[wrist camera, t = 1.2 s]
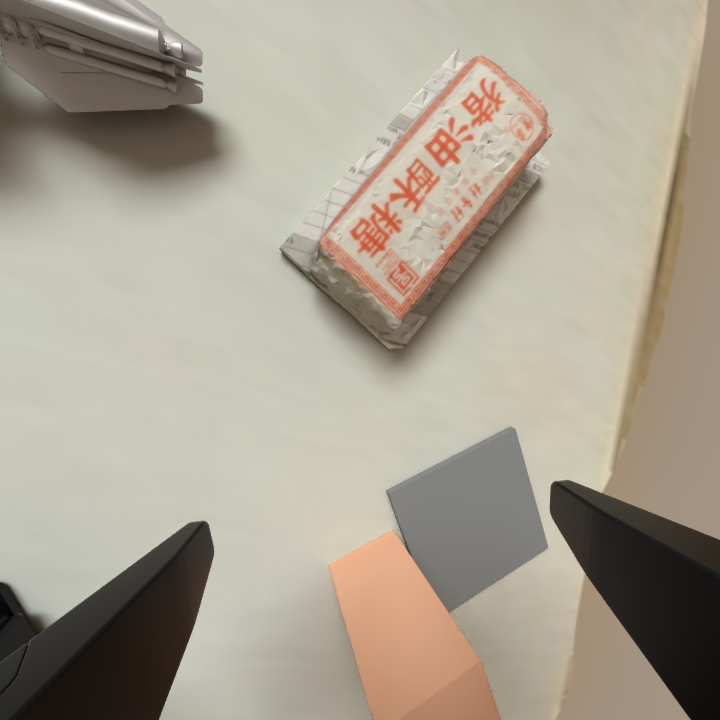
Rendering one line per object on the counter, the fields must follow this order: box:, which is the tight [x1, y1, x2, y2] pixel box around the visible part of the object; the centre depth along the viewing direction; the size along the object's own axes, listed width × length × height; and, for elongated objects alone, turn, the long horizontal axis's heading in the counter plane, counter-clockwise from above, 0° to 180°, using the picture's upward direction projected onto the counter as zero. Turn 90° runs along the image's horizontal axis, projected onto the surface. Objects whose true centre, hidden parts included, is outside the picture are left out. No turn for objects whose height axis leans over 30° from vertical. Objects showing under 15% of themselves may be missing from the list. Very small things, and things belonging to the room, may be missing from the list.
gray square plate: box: [386, 427, 548, 612], centre depth 25 cm, size 11×11×1 cm
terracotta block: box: [329, 530, 501, 720], centre depth 19 cm, size 5×5×10 cm
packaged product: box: [279, 48, 553, 349], centre depth 21 cm, size 18×5×10 cm
